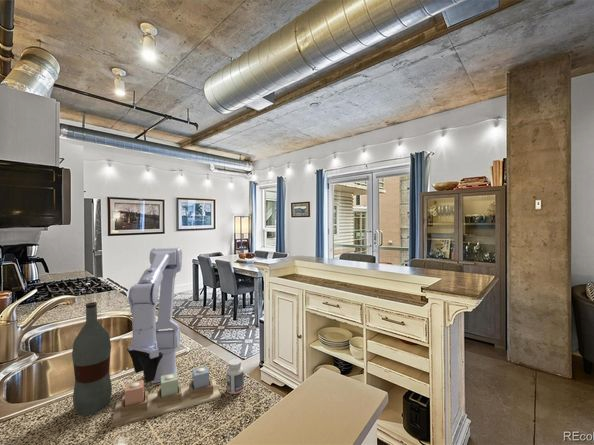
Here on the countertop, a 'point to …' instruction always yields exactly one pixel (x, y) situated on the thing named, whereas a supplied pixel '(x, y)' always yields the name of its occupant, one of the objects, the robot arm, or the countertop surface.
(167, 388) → the sage block
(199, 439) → the countertop surface
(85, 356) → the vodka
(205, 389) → the birch board
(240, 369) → the pill bottle
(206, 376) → the slate-blue block
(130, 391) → the terracotta block
